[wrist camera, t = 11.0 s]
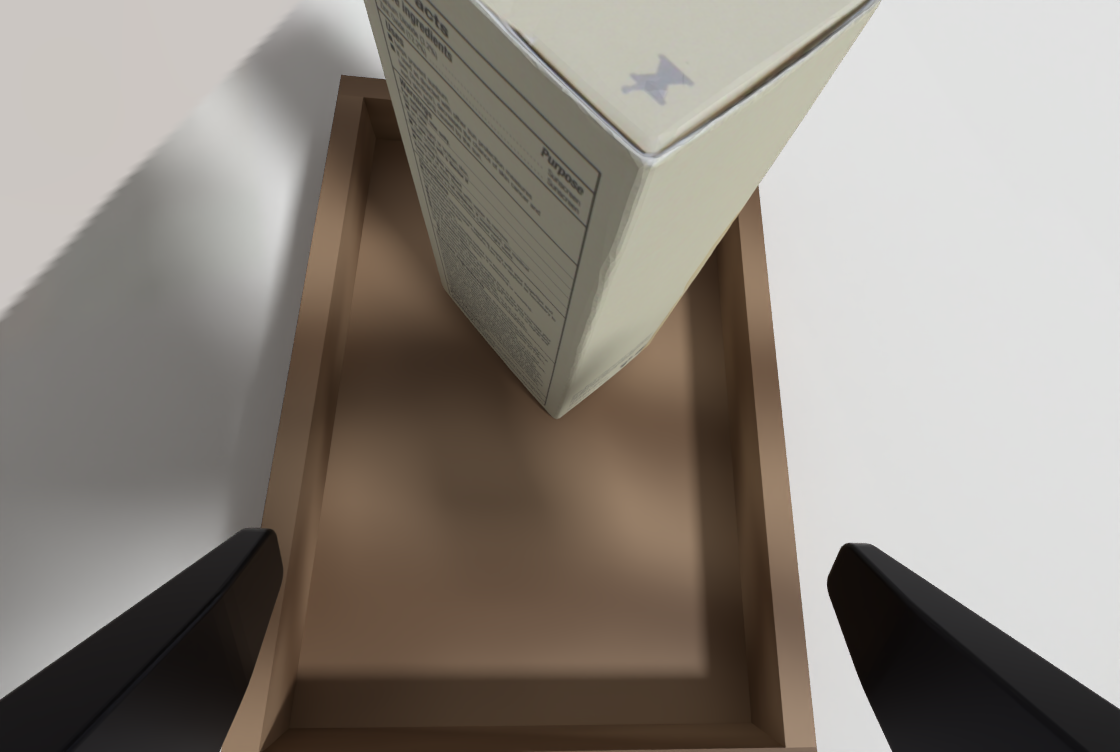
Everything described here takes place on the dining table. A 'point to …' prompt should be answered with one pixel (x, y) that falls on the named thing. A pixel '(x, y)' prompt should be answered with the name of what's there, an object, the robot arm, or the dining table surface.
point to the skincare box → (593, 155)
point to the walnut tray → (520, 511)
